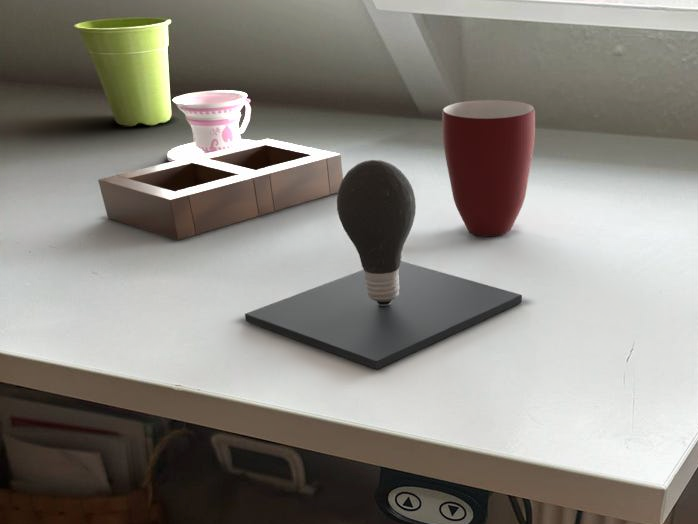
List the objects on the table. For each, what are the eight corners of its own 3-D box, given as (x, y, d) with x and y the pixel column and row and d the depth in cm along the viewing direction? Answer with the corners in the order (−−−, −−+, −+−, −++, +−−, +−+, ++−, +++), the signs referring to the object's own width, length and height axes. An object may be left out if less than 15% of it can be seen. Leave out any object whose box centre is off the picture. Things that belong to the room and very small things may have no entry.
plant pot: (204, 113, 129) (186, 16, 122) (163, 133, 121) (141, 29, 113) (126, 110, 132) (105, 14, 124) (80, 129, 123) (54, 27, 115)
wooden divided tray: (178, 240, 86) (169, 199, 84) (107, 218, 92) (97, 179, 90) (344, 190, 98) (340, 154, 96) (272, 173, 104) (267, 138, 102)
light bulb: (351, 320, 69) (336, 173, 63) (344, 294, 73) (329, 153, 67) (426, 314, 70) (419, 167, 64) (415, 288, 74) (406, 148, 68)
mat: (377, 369, 64) (376, 361, 64) (245, 321, 71) (244, 313, 71) (522, 302, 73) (522, 294, 73) (393, 265, 80) (392, 258, 80)
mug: (416, 220, 90) (410, 102, 84) (486, 206, 93) (485, 91, 87) (476, 249, 83) (474, 123, 77) (550, 232, 87) (553, 110, 80)
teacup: (200, 175, 104) (188, 112, 100) (149, 156, 111) (136, 97, 107) (291, 156, 110) (283, 96, 106) (237, 139, 117) (228, 82, 113)
